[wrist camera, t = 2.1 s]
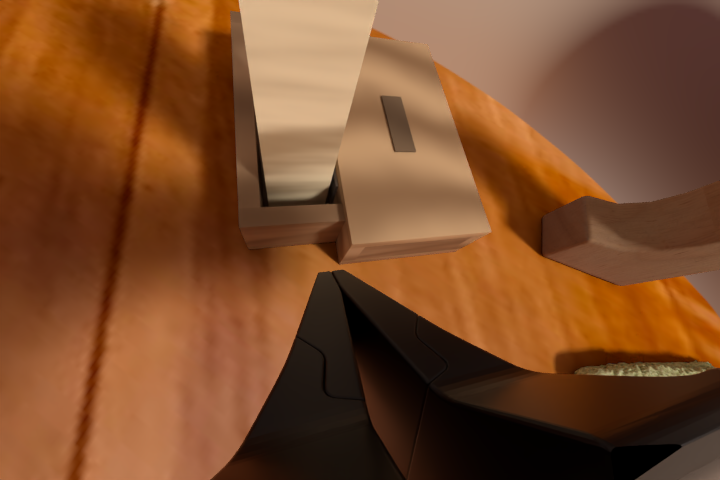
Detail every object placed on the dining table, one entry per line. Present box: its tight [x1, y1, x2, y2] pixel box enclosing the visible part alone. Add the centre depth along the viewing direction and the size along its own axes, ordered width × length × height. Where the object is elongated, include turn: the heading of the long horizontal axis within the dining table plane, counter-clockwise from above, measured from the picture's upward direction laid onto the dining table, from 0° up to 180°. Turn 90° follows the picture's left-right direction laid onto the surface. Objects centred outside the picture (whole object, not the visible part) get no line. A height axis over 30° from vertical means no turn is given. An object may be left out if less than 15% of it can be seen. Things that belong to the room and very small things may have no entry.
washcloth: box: [574, 360, 715, 377], centre depth 21 cm, size 13×18×3 cm
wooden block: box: [542, 181, 720, 286], centre depth 18 cm, size 9×4×18 cm, turn 74°
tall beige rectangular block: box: [239, 0, 379, 207], centre depth 13 cm, size 5×4×19 cm
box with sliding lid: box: [230, 11, 492, 264], centre depth 22 cm, size 20×16×5 cm
